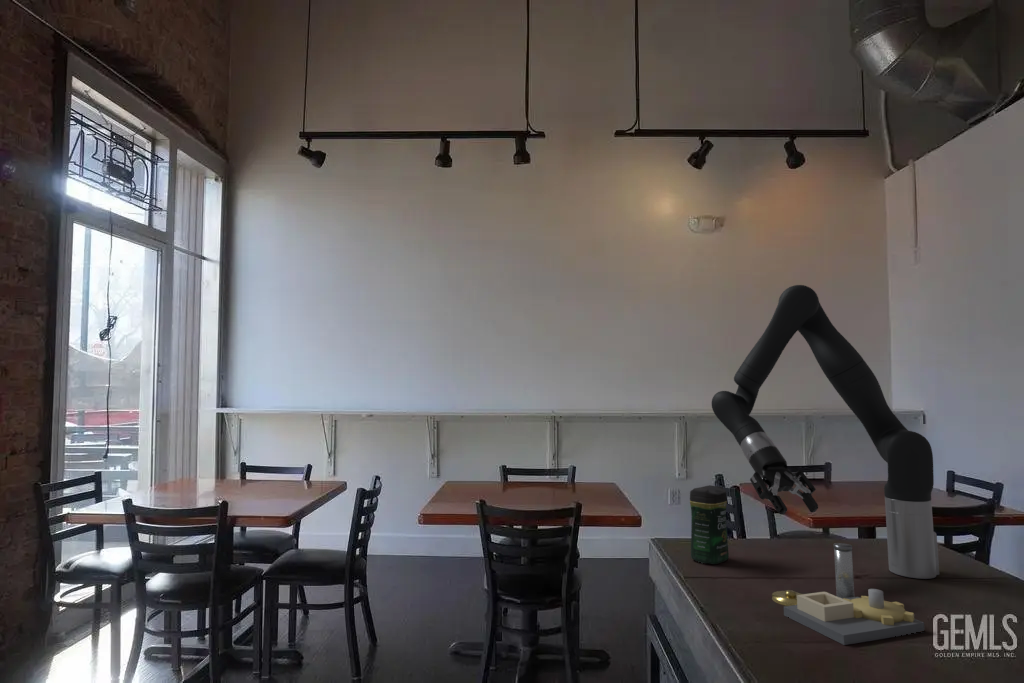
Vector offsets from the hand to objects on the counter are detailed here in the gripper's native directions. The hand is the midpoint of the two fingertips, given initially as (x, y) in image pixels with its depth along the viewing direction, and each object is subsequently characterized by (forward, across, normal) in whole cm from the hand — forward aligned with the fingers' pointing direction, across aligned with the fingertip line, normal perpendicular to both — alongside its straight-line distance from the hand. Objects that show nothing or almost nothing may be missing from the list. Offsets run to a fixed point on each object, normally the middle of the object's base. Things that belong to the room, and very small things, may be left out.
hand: (799, 511), depth 133 cm
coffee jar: (-4, -9, +27) cm, 28 cm away
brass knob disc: (+17, -11, +5) cm, 21 cm away
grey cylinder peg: (+19, 0, +3) cm, 19 cm away
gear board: (+26, -9, -4) cm, 28 cm away
